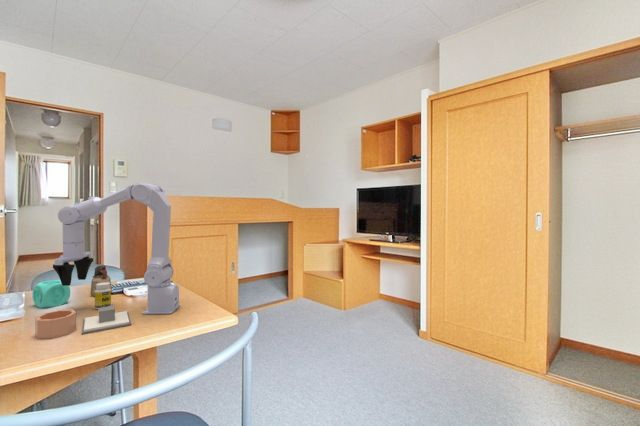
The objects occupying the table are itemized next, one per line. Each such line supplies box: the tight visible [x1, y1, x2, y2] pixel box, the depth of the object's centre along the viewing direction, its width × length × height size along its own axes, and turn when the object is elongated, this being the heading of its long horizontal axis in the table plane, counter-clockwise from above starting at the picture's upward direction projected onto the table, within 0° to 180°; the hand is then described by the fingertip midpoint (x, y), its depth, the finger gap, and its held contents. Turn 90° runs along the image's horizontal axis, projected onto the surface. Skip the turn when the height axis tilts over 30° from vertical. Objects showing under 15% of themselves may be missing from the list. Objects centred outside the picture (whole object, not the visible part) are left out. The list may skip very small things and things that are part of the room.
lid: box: [84, 305, 129, 332], centre depth 96 cm, size 11×11×4 cm
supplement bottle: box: [94, 283, 112, 310], centre depth 110 cm, size 5×5×8 cm
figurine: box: [90, 264, 113, 298], centre depth 125 cm, size 7×7×12 cm
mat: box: [81, 311, 132, 335], centre depth 96 cm, size 12×12×1 cm
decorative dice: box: [32, 279, 71, 309], centre depth 112 cm, size 8×8×8 cm
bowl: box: [34, 309, 77, 340], centre depth 89 cm, size 8×8×5 cm
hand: (74, 282), depth 105 cm, fingers open, 7 cm apart
